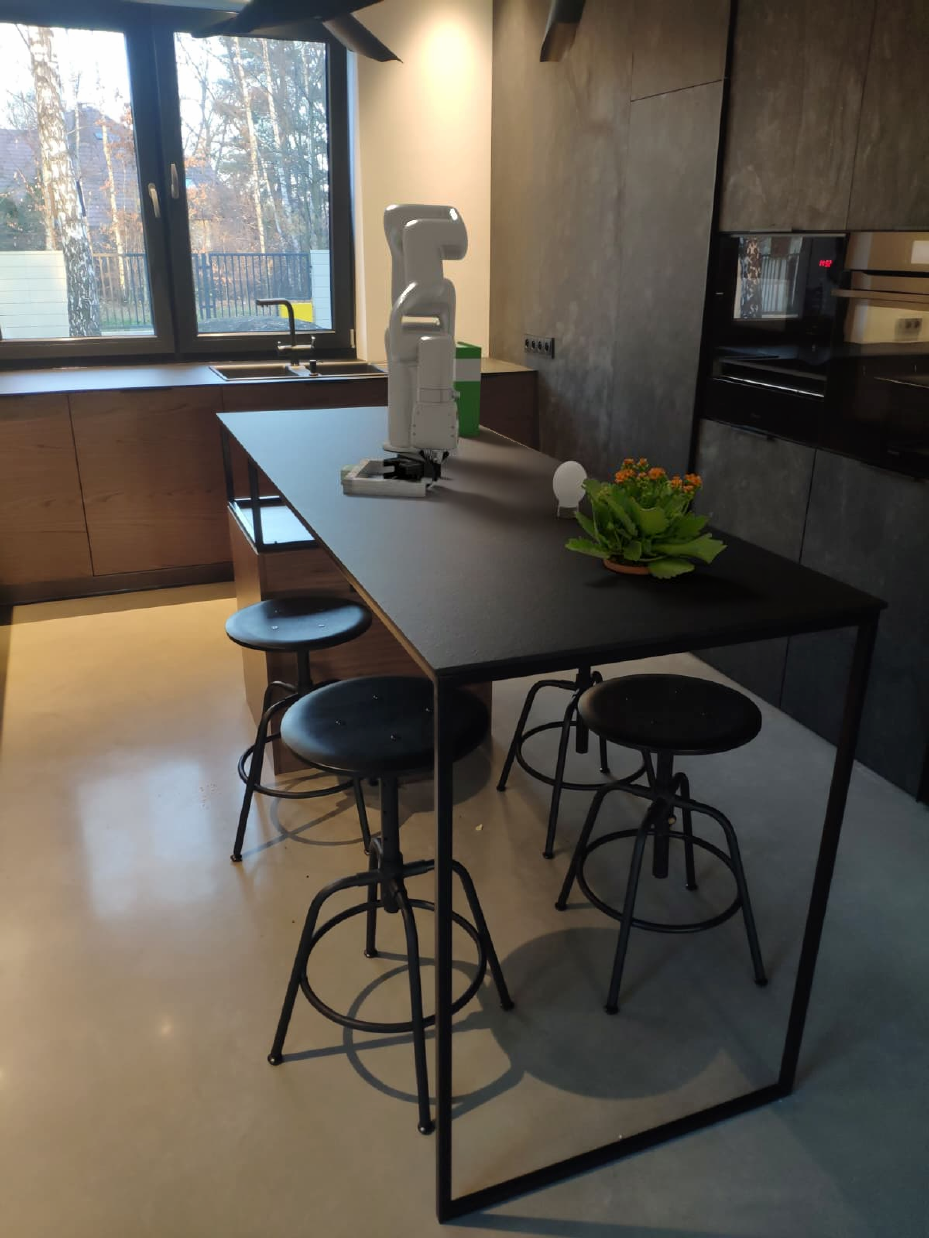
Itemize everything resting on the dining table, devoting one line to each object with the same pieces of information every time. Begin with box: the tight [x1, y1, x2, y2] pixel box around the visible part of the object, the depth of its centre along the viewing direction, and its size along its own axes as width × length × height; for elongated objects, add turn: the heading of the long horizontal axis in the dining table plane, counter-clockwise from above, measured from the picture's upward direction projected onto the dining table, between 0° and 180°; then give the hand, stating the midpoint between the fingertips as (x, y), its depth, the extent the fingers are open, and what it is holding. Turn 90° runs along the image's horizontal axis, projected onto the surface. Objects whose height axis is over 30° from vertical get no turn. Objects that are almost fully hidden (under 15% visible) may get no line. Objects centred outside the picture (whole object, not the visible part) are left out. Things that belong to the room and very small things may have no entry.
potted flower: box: [564, 458, 728, 580], centre depth 156 cm, size 25×24×18 cm
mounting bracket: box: [340, 457, 444, 498], centre depth 209 cm, size 22×21×4 cm
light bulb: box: [552, 460, 588, 519], centre depth 186 cm, size 7×7×11 cm
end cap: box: [382, 453, 435, 490], centre depth 205 cm, size 10×7×7 cm
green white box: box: [453, 340, 483, 437], centre depth 270 cm, size 18×7×24 cm, turn 20°
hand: (433, 480), depth 208 cm, fingers closed
